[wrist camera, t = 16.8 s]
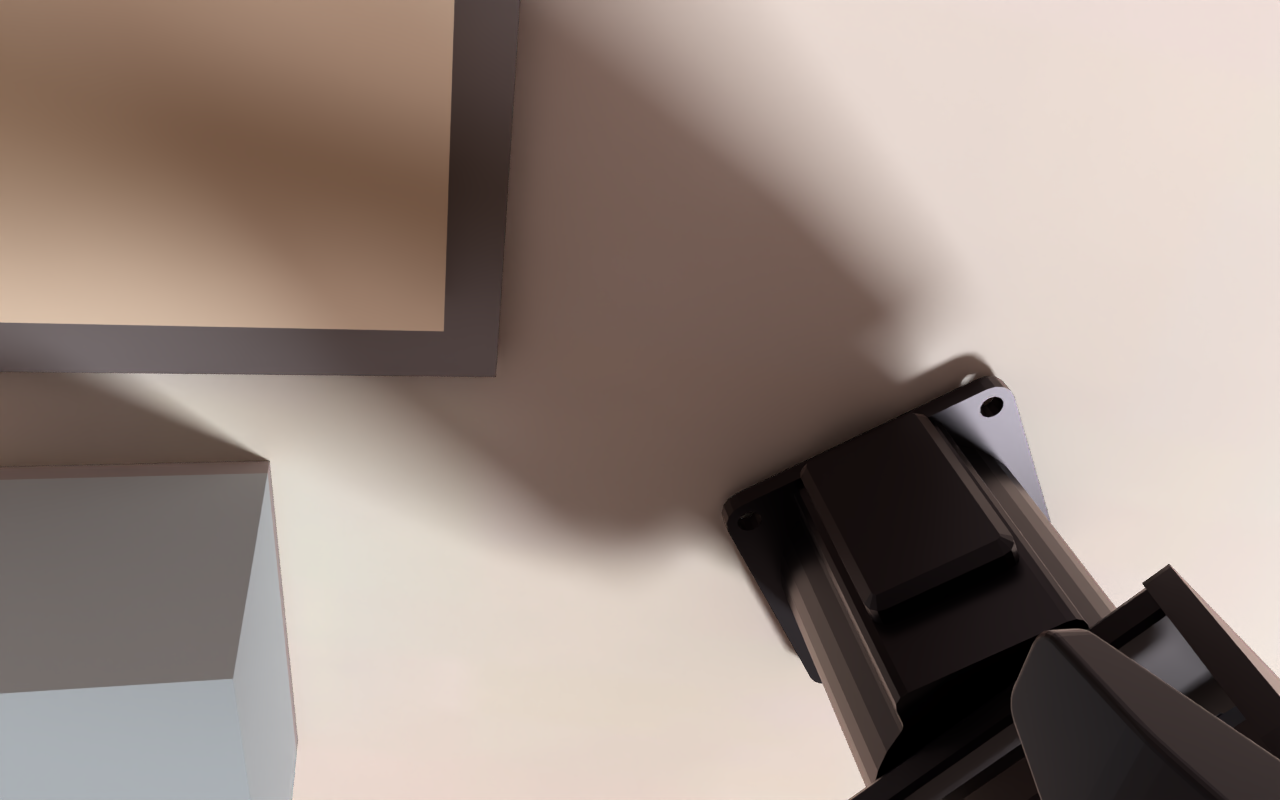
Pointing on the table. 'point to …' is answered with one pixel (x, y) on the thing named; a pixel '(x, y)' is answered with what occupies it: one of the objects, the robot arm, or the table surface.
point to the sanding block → (143, 634)
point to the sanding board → (254, 185)
